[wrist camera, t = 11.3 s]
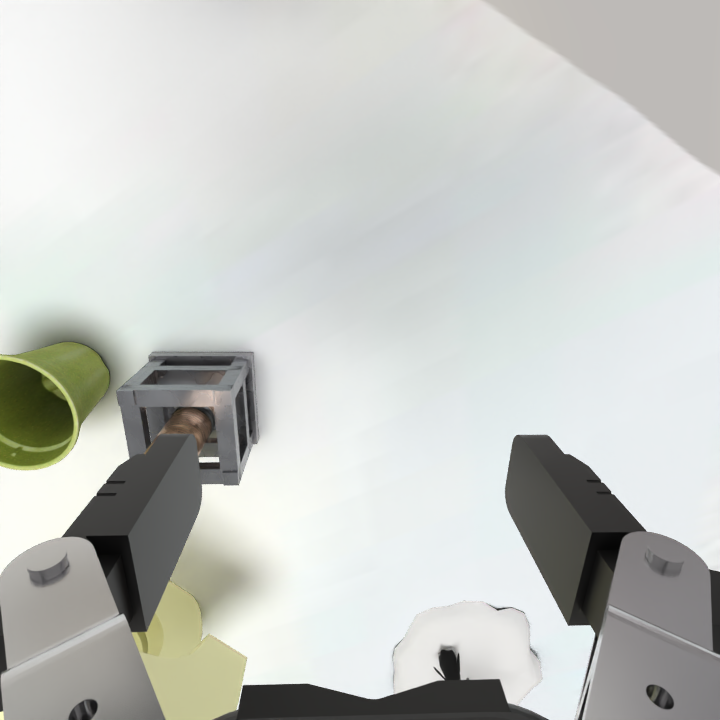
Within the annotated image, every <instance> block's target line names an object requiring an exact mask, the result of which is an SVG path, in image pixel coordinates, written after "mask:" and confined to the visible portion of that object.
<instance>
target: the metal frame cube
mask: <svg viewBox="0 0 720 720" xmlns="http://www.w3.org/2000/svg"><path fill="white" fill-rule="evenodd" d="M116 393H117V398H118V404H119V406H120V407H121V413H122V418H123V424H124V429H125V435H126V440H127V446H128V451H129V457H130V458H132V457H133V456H135V455H136V454H144V453H145V451H146V450H147V449H148V447H149V446H150V445H151V442H153V441H154V439H155V438H156V436H157V435H158V434H159V432H160V431H161V430H162V428H163V427H164V426H165V424H166V423H167V422H168V420H169V419H170V417H171V415H172V414H173V412H174V411H175V410H176V408H177V407H214V413H215V422H216V424H215V426H214V429H213V430H212V432H211V434H210V436H209V437H208V439H207V441H206V442H205V444H204V446H203V448H202V450H201V452H200V454H199V456H198V457H219V461H220V462H212V463H199V468H200V476H201V484H224V485H239V483H240V480H241V477H242V474H243V471H244V468H245V465H246V462H247V460H248V457H249V454H250V451H251V448H252V445H253V444H257V443H258V440H259V433H258V418H257V403H256V389H255V374H254V359H253V352H152V353H151V354H150V355H149V362H148V363H147V364H146V365H145V366H144V367H143V368H142V369H141V370H139V371H138V372H137V373H136V374H135V375H134V376H133V377H132V378H130V379H129V380H128V381H127V382H126V383H125V384H124V385H123V386H121V387H120V388H119V389H118V390H117V391H116ZM146 411H147V413H146ZM147 417H148V420H147ZM148 424H149V426H148ZM149 430H150V432H149ZM150 436H151V438H150Z"/></svg>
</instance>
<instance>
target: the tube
mask: <svg viewBox="0 0 720 720" xmlns="http://www.w3.org/2000/svg"><path fill="white" fill-rule="evenodd" d="M215 424H216V422H215V413H214V407H177V408H176V410H175V411H174V412H173V414H172V415H171V417H170V419H169V420H168V422H167V423H166V424H165V426H164V427H163V428H162V430H161V431H160V432H159V434H158V435H157V436H156V438H155V439H154V441H153V442H152V443H151V445H150V446H149V447H148V449H147V450H146V451H145V453H144V454H146V453H147V451H148V450H149V449H150V447H151V446H152V445H153V443H154V442H155V440H156V439H157V438H158V436H159V435H161V434H193V435H194V436H195V438H196V442H197V450H198V456H199V454H200V452H201V450H202V448H203V446H204V444H205V442H206V441H207V439H208V437H209V436H210V434H211V432H212V430H213V429H214V426H215Z"/></svg>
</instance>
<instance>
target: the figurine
mask: <svg viewBox="0 0 720 720" xmlns="http://www.w3.org/2000/svg"><path fill="white" fill-rule="evenodd" d="M393 663H394V669H395V672H394V694H397V693H400V692H403V691H406V690H409V689H413V688H416V687H419V686H422V685H425V684H428V683H432V682H435V681H438V680H479V679H500V681H501V684H502V687H503V690H504V693H505V697H506V700H507V703H510V704H514V705H517V706H518V704H519V703H520V702H521V701H522V700H523V699H524V698H525V697H526V695H527V694H528V693H529V692H530V691H531V690H532V689H533V688H534V687H536V686H537V685H538V684H539V683H540V682H541V681H542V671H541V664H540V661H539V660H538V658H537V657H536V656H535V655H534V654H533V652H532V651H531V650H530V627H529V624H528V622H527V619H526V616H525V614H524V613H523V612H521V611H518V610H516V609H513V608H508V609H503V610H498V611H497V610H496V609H494V608H493V607H491V606H489V605H488V604H486V603H485V602H482V601H462V602H459V603H456V604H453V605H451V606H443V607H434V608H431V609H428V610H426V611H424V612H421V613H419V614H417V615H416V617H415V619H414V620H413V622H412V623H411V625H410V626H409V629H408V631H407V633H406V635H405V637H404V638H403V639H402V641H401V642H400V643H399V644H398V645H397V647H396V648H395V650H394V655H393Z"/></svg>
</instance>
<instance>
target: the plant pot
mask: <svg viewBox="0 0 720 720" xmlns="http://www.w3.org/2000/svg"><path fill="white" fill-rule="evenodd" d="M109 382H110V375H109V371H108V369H107V368H106V366H105V365H104V363H103V362H102V360H101V358H100V356H99V355H98V354H97V353H96V352H95V351H94V350H92V349H91V348H89V347H87V346H85V345H82V344H79V343H74V342H62V343H57V344H54V345H50V346H47V347H44V348H40V349H37V350H33V351H29V352H25V353H21V354H17V355H2V354H0V466H2V467H5V468H9V469H14V470H38V469H42V468H46V467H49V466H51V465H54V464H56V463H58V462H59V461H61V460H62V459H63V458H65V457H66V456H67V455H68V454H69V452H70V451H71V450H72V449H73V447H74V445H75V444H76V442H77V439H78V436H79V431H80V427H81V424H82V423H83V421H84V420H85V419H86V417H87V416H88V415H89V413H90V412H91V411H92V409H93V408H94V407H95V406H96V404H97V403H98V402H99V401H100V399H101V398H102V397H103V396H104V394H105V393H106V391H107V389H108V387H109Z"/></svg>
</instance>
